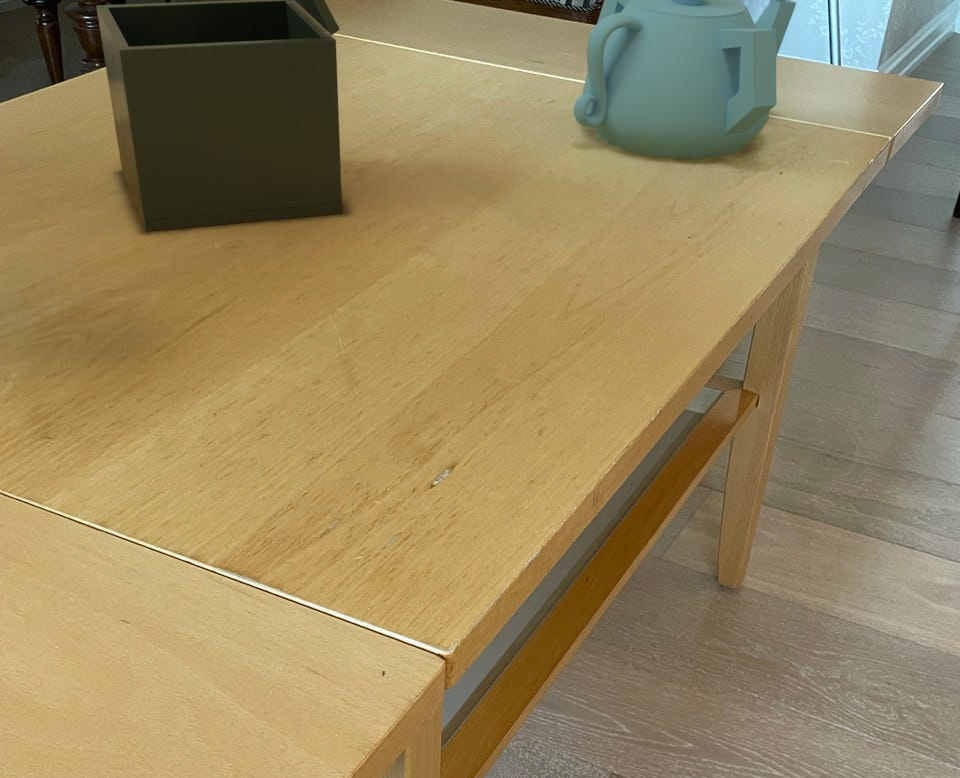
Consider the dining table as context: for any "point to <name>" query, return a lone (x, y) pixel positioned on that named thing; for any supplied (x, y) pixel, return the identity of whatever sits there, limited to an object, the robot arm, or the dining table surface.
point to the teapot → (681, 75)
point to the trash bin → (223, 110)
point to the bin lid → (320, 14)
